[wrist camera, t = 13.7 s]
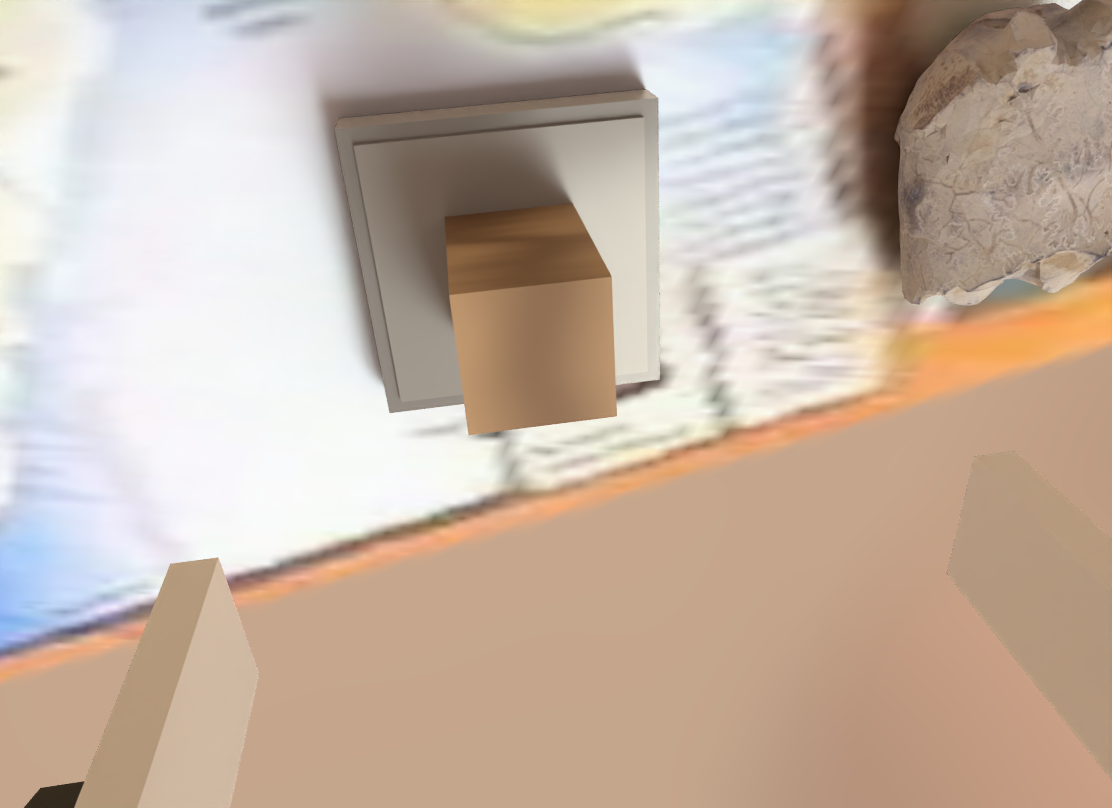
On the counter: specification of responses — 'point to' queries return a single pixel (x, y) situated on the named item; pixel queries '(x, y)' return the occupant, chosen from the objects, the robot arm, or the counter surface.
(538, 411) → the block
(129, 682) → the robot arm
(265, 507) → the counter surface
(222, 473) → the counter surface
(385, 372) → the board
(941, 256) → the stone
